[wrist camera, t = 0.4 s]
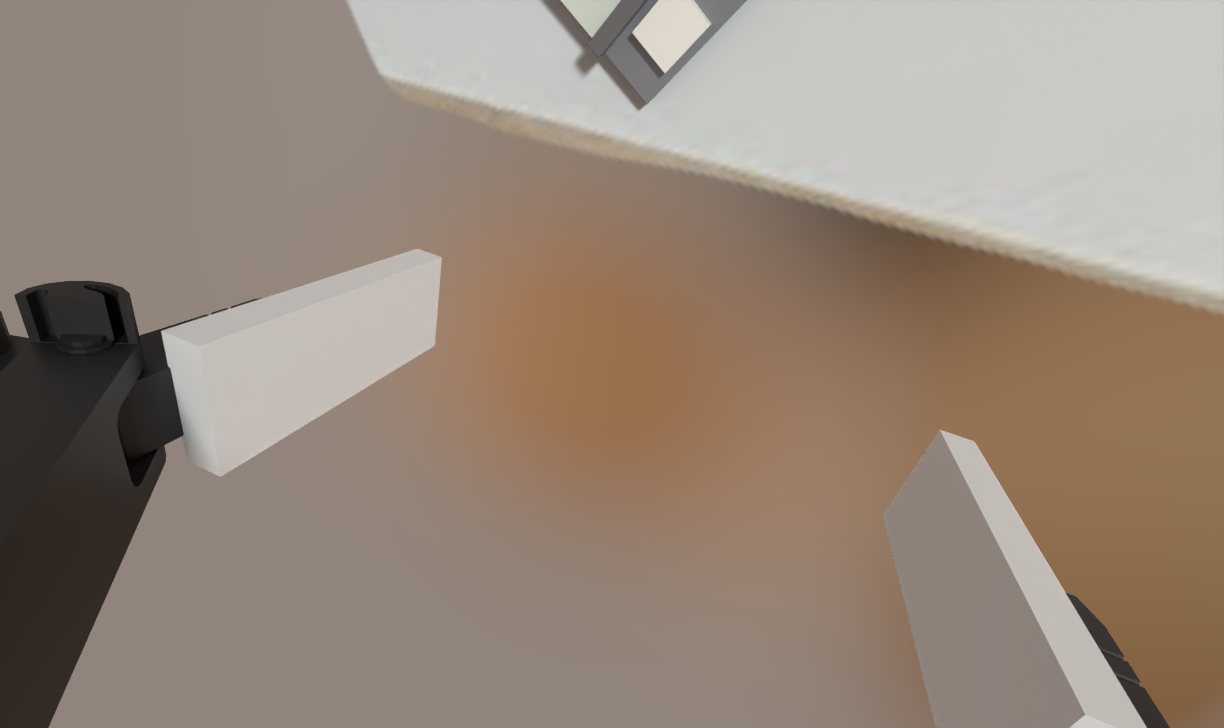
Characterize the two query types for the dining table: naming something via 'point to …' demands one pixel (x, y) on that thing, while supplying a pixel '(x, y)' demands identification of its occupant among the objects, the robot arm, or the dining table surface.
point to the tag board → (650, 34)
